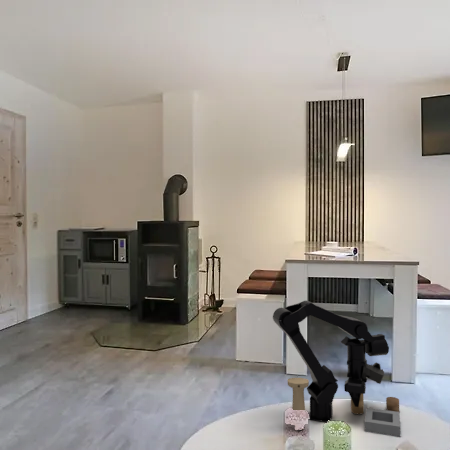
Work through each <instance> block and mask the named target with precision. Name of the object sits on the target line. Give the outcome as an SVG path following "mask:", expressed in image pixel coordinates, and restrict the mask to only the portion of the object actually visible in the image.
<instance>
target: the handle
mask: <svg viewBox="0 0 450 450" xmlns="http://www.w3.org/2000/svg"><path fill="white" fill-rule="evenodd" d="M309 385H310V381H309V379H307V378H304V377H291V378H287V386H288V387H290V388H292V403H291V404H292V405H291V407H292V408H291V410H292V409H293V410H305V411H306V404H305V403H306V402H305V389H307V387H308V386H309Z"/></svg>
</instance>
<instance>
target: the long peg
mask: <svg viewBox="0 0 450 450" xmlns="http://www.w3.org/2000/svg"><path fill="white" fill-rule="evenodd" d="M364 408H365V405H364V394H361V396H360V401H359V407H355V405H354V403H353V401H352V399H351V398H350V412H351V413H352V414H355V415H363V414H364V413H365V412H364V411H365V409H364Z"/></svg>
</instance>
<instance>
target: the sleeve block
mask: <svg viewBox="0 0 450 450" xmlns="http://www.w3.org/2000/svg"><path fill="white" fill-rule="evenodd" d="M364 432H365V433H367V432H368V433H374V434H380V435H386V436H393V437H397V438H398V437H399V438H400V437H401V416H400V411H399V412H395V411H388V410H386V409H379V408H371V407H365V414H364Z"/></svg>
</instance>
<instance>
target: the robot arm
mask: <svg viewBox="0 0 450 450" xmlns="http://www.w3.org/2000/svg"><path fill="white" fill-rule="evenodd" d="M310 316H312V317H314V318H316V319H319V320H321V321H324V322H325V323H328V324H330V325H333V326H335V327H337V328H338V329H340V330H342V331H343V332H345V333H346V334H348V335H349V336H351V337H352V338H351V337H348V336H345V337H344V338H342V339H341V341H340V344H343V345H344V346H346V348H347V349H346V350H347V353H346V354H347V356H346V357H347V361H346V365H347V372H346V377H347V379H346V380H345V382H344V385H343V387H344V392H345V393H348V394H349V397H350V400H351V399H352V401H353V403H354V405H355V407H359V401H360V396H361V394H363V395H364V394H366V390H367V387H366V386H367V385H366V383H367V382H368V379H369V380H371V381H373V382H375V383H376V384H381V383H382V380H383V378H384V376H385V371H384V370H383V368H382V367H381V364H380V363H379V362H374V364H368V360H367V358H366V354H367V355H368V356H369V357H377V356H386V355H388V354H389V352H390V346H389V343H388V341H387V339H386V337H385V336H386V335H385V334H382V333H378V334H371V333H370V331H369V330H368V328H369V327H368V325H367V324H366V322H364V321H362V320H360V319H357V318H355V317H351V316H347V315H341V314H337V313H335V312H332V311H330V310H328V309H325V308H323V307H321V306H319V305H316V304H315V303H313V302H311V301H309V300H303V301H301V302H298V303H295V304H291V305H287V306H285V307H278V308H276V309H275V310H274V312H273V314H272V320H273V322H274V323H275V324H276V325H277V326H278V328H280V330H281V331H283V333H285V334H286V335H287V337H288V338H289V340H290V342H291V343H292V345H293V347H294V348H295V350H296V351H297V352H298V354H299V356H300V357H301V359H302V361H303V362H304V363H305V365H306V367H307V368H308V370H309V374H310V379H311V382H310V383H309V385H308V387H306V391H307V393H308V395H310V397H309V416H310V419H309V421H316V422H323V423H328V422H327V421H328V420H330V421H331V419H333V412H334V411H333V402H334V398H335V395H336V393H337V392H338V388H339V384H338V379H337V378H336V377H335V375H334V372H333V371H332V370H331V369H330V368H329V367H327V366H326V365H325V364H323V365H321V363H320V361H319V359H318V358H317V357H316V355H315V353H314V352H313V350H312V348H311V347H310V346H309V344H308V342H307V341H306V339H305V338H304V336H303V334H302V332H301V329H300V324H299V323H302V322H303V321H304V320H305V319H306V318H308V317H310Z"/></svg>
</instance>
